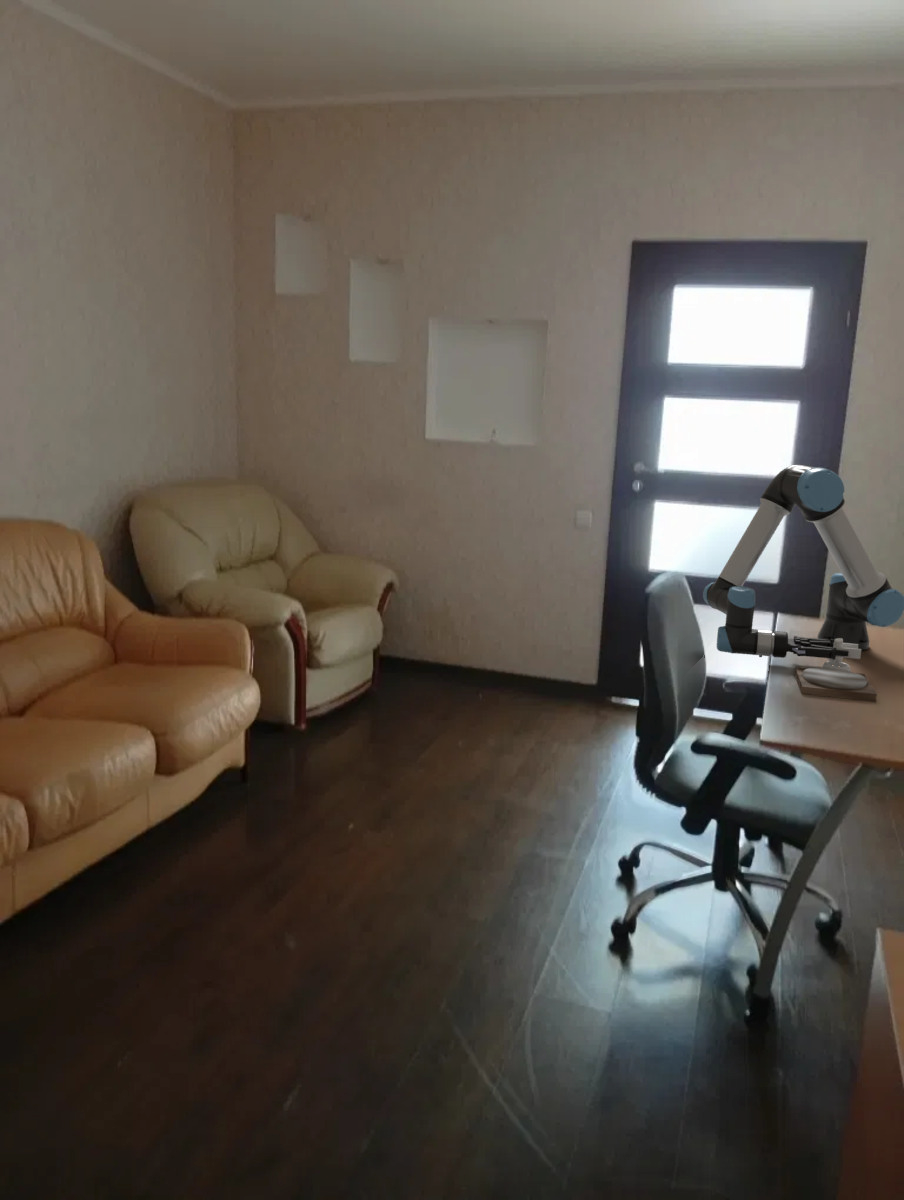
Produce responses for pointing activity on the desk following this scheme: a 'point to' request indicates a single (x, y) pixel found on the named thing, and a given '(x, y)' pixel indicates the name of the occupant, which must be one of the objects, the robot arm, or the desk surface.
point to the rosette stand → (834, 683)
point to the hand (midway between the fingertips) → (858, 651)
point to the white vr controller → (837, 658)
